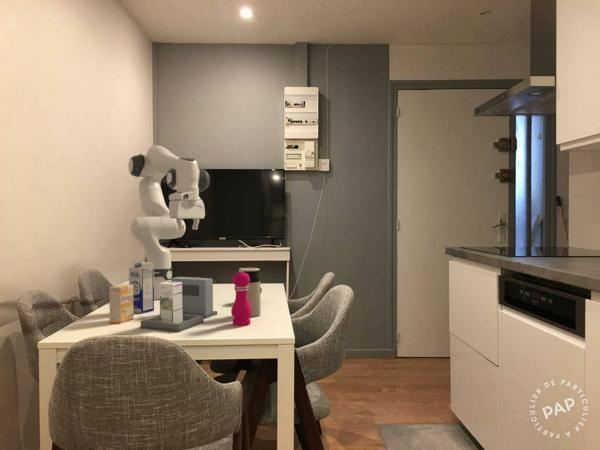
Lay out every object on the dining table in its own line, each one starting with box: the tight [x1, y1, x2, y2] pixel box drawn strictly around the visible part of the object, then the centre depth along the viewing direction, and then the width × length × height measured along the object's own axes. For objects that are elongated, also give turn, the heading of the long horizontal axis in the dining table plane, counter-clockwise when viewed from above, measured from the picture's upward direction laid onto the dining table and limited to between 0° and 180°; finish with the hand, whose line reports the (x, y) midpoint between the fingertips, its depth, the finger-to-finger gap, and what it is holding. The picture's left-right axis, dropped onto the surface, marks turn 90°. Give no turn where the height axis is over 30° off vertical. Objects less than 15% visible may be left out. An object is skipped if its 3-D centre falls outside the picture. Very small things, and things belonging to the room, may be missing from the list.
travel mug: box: [242, 267, 262, 318], centre depth 169 cm, size 8×8×18 cm
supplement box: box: [108, 283, 134, 324], centre depth 161 cm, size 8×5×13 cm, turn 168°
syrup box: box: [159, 281, 183, 323], centre depth 153 cm, size 6×6×14 cm
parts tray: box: [140, 314, 204, 333], centre depth 153 cm, size 16×14×2 cm
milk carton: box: [128, 261, 155, 315], centre depth 177 cm, size 7×7×20 cm
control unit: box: [171, 276, 218, 320], centre depth 171 cm, size 18×8×14 cm, turn 68°
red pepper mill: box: [230, 267, 252, 327], centre depth 155 cm, size 7×7×20 cm
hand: (188, 229), depth 182 cm, fingers open, 8 cm apart
